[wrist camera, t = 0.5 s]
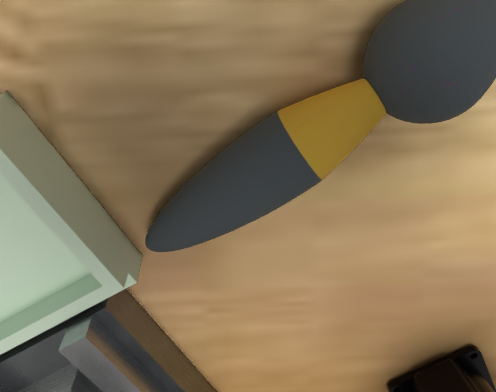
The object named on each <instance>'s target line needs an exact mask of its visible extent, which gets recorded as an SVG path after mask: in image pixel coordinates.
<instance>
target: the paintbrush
mask: <svg viewBox="0 0 496 392" xmlns="http://www.w3.org/2000/svg"><path fill="white" fill-rule="evenodd" d="M363 75H364V78H362V79H359V80H356V81H353V82H350V83H347V84H344V85H341V86H339V87H336V88H333V89H330V90H327V91H325V92H322V93H320V94H317V95H314V96H312V97H309V98H307V99H304V100H302V101H299V102H297V103H295V104H292V105H290V106H288V107H285V108H283V109H281V110H279V111H278V112H275V113H273V114H272V115H270V116H269V117H267V118H266V119H264V120H263V121H261V122H260V123H258V124H257V125H256V126H254V127H253V128H251V129H250V130H249V131H247V132H246V133H245V134H243V135H242V136H241V137H239V138H238V139H237V140H235V141H234V142H233V143H232V144H230V145H229V146H228V147H227V148H225V149H224V150H223V151H222V152H220V153H219V154H218V155H217V156H216V157H214V158H213V159H212V160H211V161H210V162H209V163H208V164H207V165H205V166H204V167H203V168H202V169H201V170H200V171H199V172H198V173H196V174H195V175H194V176H193V177H192V178H191V179H190V180H189V181H188V182H187V183H186V184H185V185H184V186H183V187H182V188H181V189H180V190H179V191H178V192H177V193H176V194H175V195H174V196H173V198H172V199H171V200H170V201H169V202H168V203H167V204H166V205H165V206H164V208H163V209H162V210H161V211H160V213H159V214H158V215H157V217H156V218H155V220H154V221H153V223H152V225H151V226H150V228H149V230H148V233H147V236H146V241H145V243H146V246H147V248H148V249H150V250H152V251H156V252H168V251H175V250H180V249H184V248H188V247H191V246H194V245H197V244H200V243H203V242H206V241H209V240H211V239H214V238H216V237H219V236H221V235H224V234H226V233H228V232H231V231H233V230H235V229H237V228H239V227H242V226H244V225H246V224H248V223H250V222H252V221H254V220H256V219H258V218H260V217H262V216H264V215H266V214H268V213H270V212H271V211H273V210H275V209H277V208H279V207H281V206H282V205H284V204H286V203H287V202H289V201H291V200H292V199H294V198H296V197H297V196H299V195H301V194H302V193H304V192H305V191H307V190H308V189H310V188H311V187H313V186H315V185H316V184H317V183H319V182H320V181H321V180H323V179H324V178H325V177H326V176H327V175H328V174H329V173H330V172H331V171H332V170H333V169H334V168H335V167H336V166H338V165H339V164H340V163H341V162H342V161H343V160H344V159H345V158H346V157H347V156H348V155H349V153H350V152H351V151H352V150H353V149H354V148H355V147H356V146H357V145H358V144H359V143H360V142H361V141H362V140H363V139H364V138H365V137H366V136H367V134H368V133H369V132H370V131H371V130H372V129H373V128H374V127H375V126H376V124H377V123H378V122H379V121H380V120H381V119H382V118H383V116H384V115H385V114H386V113H388V114H389V115H391V116H393V117H395V118H397V119H400V120H403V121H407V122H412V123H421V124H422V123H436V122H442V121H445V120H449V119H451V118H454V117H456V116H458V115H460V114H462V113H463V112H465V111H467V110H468V109H469V108H471V107H472V106H473V105H474V104H475V103H476V102H477V101H478V100H479V99H480V98H481V97H482V96H483V95H484V93H485V92H486V91H487V90H488V88H489V87H490V86H491V84H492V83H493V81H494V80H495V78H496V0H407V1H405V2H403V3H401V4H400V5H398V6H397V7H395V8H394V9H393V10H391V11H390V12H389V13H388V14H387V15H386V16H385V17H384V18H383V19H382V20H381V22H380V23H379V24H378V26H377V27H376V28H375V30H374V32H373V33H372V35H371V38H370V40H369V42H368V45H367V48H366V51H365V55H364V62H363Z"/></svg>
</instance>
